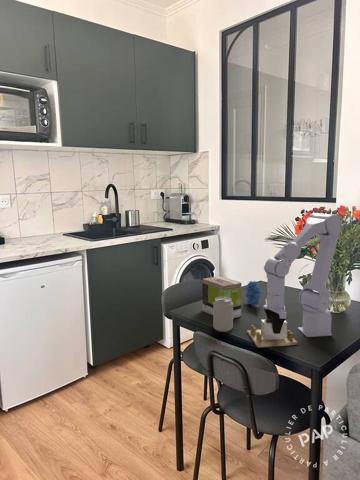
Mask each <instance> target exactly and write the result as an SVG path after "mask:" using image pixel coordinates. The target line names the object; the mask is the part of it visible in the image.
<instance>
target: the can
mask: <svg viewBox="0 0 360 480" xmlns="http://www.w3.org/2000/svg"><path fill="white" fill-rule="evenodd" d="M212 316H213V318H212V319H213V321H212V323H213V324H212V325H213V326H212V327H213V328H214V330H215V331H216V332H220V333H227V332H230V331H231V330H233V327H234V318H233V302H232V301H231V298H228V297H217V298H215V301H214V302H213V315H212Z"/></svg>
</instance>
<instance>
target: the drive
mask: <svg viewBox="0 0 360 480" xmlns="http://www.w3.org/2000/svg"><path fill="white" fill-rule="evenodd" d="M260 330H261V335H262V338H263V339H264V340H275V339H287V330H288V322H287V320H285V321H284V323H283V326H282V329H281V332H280V334H274V332H273V325H272V320H271V319H267V318H266V319H260Z"/></svg>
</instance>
